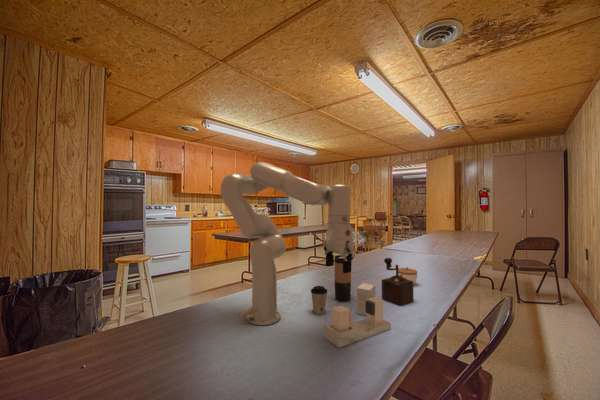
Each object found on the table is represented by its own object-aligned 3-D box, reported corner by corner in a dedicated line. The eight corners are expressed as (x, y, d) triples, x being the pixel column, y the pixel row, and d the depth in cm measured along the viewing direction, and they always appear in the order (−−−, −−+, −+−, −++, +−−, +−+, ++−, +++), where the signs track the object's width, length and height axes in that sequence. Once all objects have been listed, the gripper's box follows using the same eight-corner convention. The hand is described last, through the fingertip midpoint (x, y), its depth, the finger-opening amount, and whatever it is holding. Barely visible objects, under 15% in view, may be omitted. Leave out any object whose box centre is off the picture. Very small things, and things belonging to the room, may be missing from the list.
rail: (338, 348, 82) (338, 315, 82) (324, 337, 88) (324, 307, 88) (390, 328, 94) (390, 300, 95) (374, 321, 101) (374, 294, 101)
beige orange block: (339, 337, 84) (339, 312, 85) (332, 332, 88) (332, 308, 88) (351, 333, 87) (351, 309, 87) (343, 328, 90) (343, 305, 91)
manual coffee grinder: (415, 301, 121) (415, 262, 122) (400, 306, 115) (399, 265, 116) (387, 292, 134) (387, 256, 135) (372, 296, 128) (372, 259, 129)
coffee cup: (326, 316, 105) (326, 290, 106) (309, 314, 107) (309, 289, 107) (328, 309, 112) (328, 285, 112) (312, 308, 114) (312, 284, 114)
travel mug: (350, 296, 127) (350, 255, 128) (351, 302, 120) (351, 258, 120) (334, 296, 128) (334, 255, 129) (334, 301, 121) (334, 258, 121)
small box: (362, 306, 115) (362, 282, 115) (375, 309, 112) (375, 284, 112) (356, 313, 108) (356, 287, 108) (370, 316, 105) (370, 289, 105)
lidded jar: (392, 282, 151) (392, 265, 151) (408, 280, 154) (408, 264, 154) (405, 288, 141) (405, 270, 141) (421, 286, 144) (421, 268, 144)
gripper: (364, 221, 86) (363, 274, 86) (332, 218, 101) (331, 262, 101) (346, 222, 83) (345, 276, 82) (316, 218, 98) (315, 264, 97)
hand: (337, 269), depth 92 cm, fingers open, 9 cm apart
